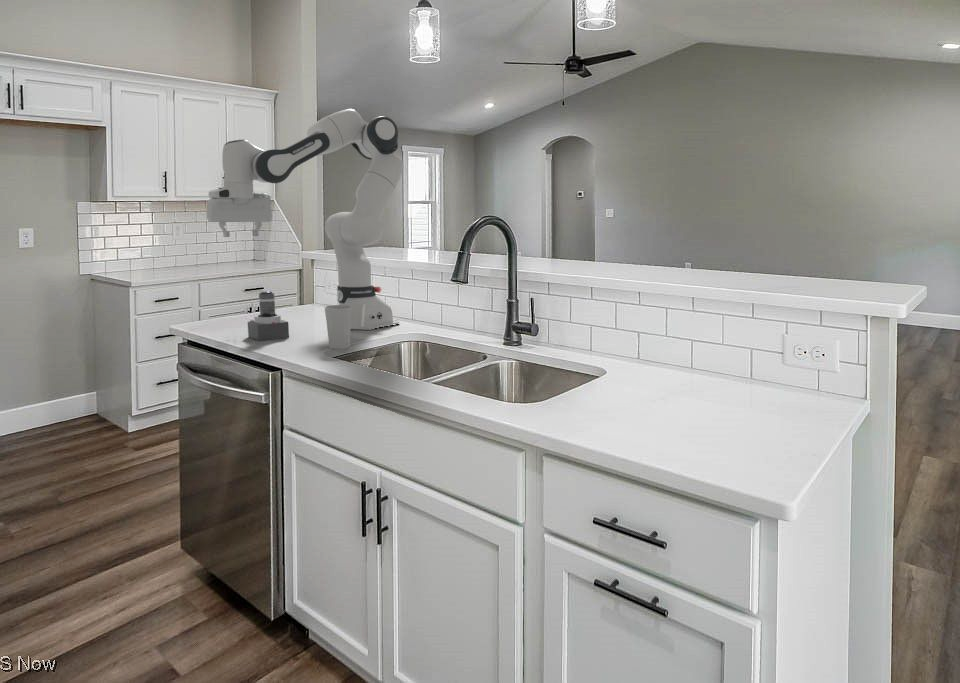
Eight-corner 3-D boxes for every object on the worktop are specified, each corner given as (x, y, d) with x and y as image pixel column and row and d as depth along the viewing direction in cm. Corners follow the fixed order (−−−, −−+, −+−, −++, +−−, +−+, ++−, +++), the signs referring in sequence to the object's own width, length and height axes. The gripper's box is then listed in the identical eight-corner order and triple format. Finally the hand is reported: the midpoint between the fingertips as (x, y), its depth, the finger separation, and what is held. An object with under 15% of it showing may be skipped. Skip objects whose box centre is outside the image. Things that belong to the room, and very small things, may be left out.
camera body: (278, 333, 227) (277, 312, 226) (289, 337, 220) (288, 315, 219) (248, 337, 221) (247, 315, 219) (259, 341, 214) (258, 319, 213)
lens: (261, 320, 222) (259, 291, 220) (276, 320, 223) (275, 290, 221) (259, 323, 217) (257, 293, 215) (275, 322, 218) (273, 293, 216)
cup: (320, 347, 207) (318, 307, 205) (339, 342, 214) (338, 304, 211) (339, 350, 203) (338, 309, 200) (358, 346, 209) (357, 306, 207)
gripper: (266, 193, 229) (268, 235, 232) (203, 192, 216) (206, 236, 219) (274, 193, 225) (276, 236, 227) (210, 191, 212) (213, 237, 214)
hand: (241, 236), depth 223 cm, fingers open, 8 cm apart
